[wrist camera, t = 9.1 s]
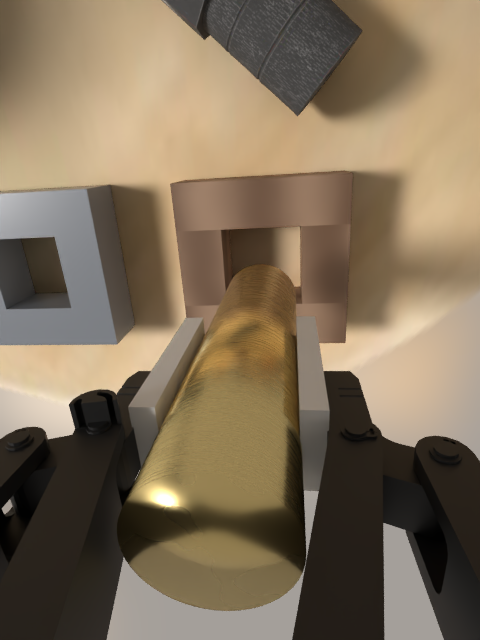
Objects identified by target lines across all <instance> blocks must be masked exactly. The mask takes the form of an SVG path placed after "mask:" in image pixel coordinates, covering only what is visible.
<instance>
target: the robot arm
mask: <svg viewBox="0 0 480 640" xmlns="http://www.w3.org/2000/svg"><path fill="white" fill-rule="evenodd" d="M204 336H205V330H204V320H203V318H185V320H184V322H183V323H182V325H181V326H180V328H179V329H178V331H177V332H176V334H175V335H174V337H173V338H172V340H171V342H170V343H169V345H168V346H167V348H166V349H165V351H164V352H163V354H162V355H161V357H160V358H159V360H158V362H157V363H156V365H155V366H154V368H153V369H152V371H138V372H137V373H135V374H134V375H132V376H131V377H129V378H128V379H127V380H126V382H125V383H124V385H123V386H122V388H121V389H120V390H119V391H118V393H117V395H116V394H115V393H114V392H113V391H110V390H94V391H89V392H87V393H84V394H81V395H80V396H78V397H76V398H75V399H73V400H72V402H71V403H70V404H69V407H70V411H71V414H72V418H73V422H74V426H75V431H74V433H73V435H69V436H64V437H59V438H53V439H47V435H46V432H45V431H44V430H43V429H42V428H38V427H26V428H22V429H18V430H15V431H14V432H12V433H9V434H7V435H6V436H5V437H3V438H2V439H0V640H106V639H107V634H108V629H109V624H110V620H111V615H112V610H113V605H114V600H115V596H116V591H117V586H118V581H119V576H120V572H121V567H122V562H123V557H124V556H123V554H122V552H121V549H120V546H119V543H118V538H117V522H118V517H119V514H120V512H121V509H122V507H123V505H124V503H125V501H126V499H127V497H128V495H129V492H130V490H131V488H132V486H133V484H134V482H135V478H136V476H137V474H138V472H139V470H141V467H142V465H143V463H144V461H145V459H146V457H147V455H148V453H149V451H150V449H151V447H152V445H153V442H154V440H155V438H156V436H157V434H158V432H159V430H160V428H161V426H162V424H163V422H164V420H165V417H166V415H167V413H168V411H169V409H170V407H171V405H172V403H173V401H174V399H175V397H176V395H177V393H178V390H179V388H180V386H181V384H182V382H183V380H184V378H185V376H186V374H187V372H188V370H189V368H190V365H191V363H192V361H193V359H194V357H195V355H196V353H197V351H198V349H199V347H200V345H201V343H202V340H203V338H204ZM296 340H297V369H298V398H299V427H300V442H301V446H302V462H303V486H304V490H308V491H319V494H318V499H317V505H316V510H315V516H314V521H313V527H312V533H311V539H310V544H309V549H308V555H307V560H306V566H305V572H304V577H303V583H302V588H301V594H300V600H299V605H298V611H297V616H296V622H295V627H294V633H293V639H292V640H384V556H383V523H386V524H389V525H392V526H395V527H398V528H401V529H405V530H406V534H407V537H408V540H409V543H410V545H411V548H412V551H413V554H414V557H415V560H416V562H417V565H418V568H419V570H420V574H421V576H422V579H423V582H424V585H425V588H426V590H427V593H428V596H429V599H430V602H431V604H432V607H433V610H434V613H435V616H436V618H437V621H438V624H439V627H440V630H441V632H442V635H443V638H444V640H480V461H479V460H478V458H477V457H476V455H475V454H474V453H473V452H472V451H471V450H470V449H469V448H468V447H467V446H465V445H464V444H462V443H460V442H459V441H456V440H453V439H450V438H447V437H441V436H429V437H425V438H423V439H421V440H419V441H418V443H417V444H416V446H415V448H414V447H410V446H406V445H402V444H398V443H395V442H392V441H390V440H388V439H386V438H384V437H383V436H382V434H381V431H380V430H379V429H378V428H377V427H376V426H375V425H374V424H372V421H371V418H370V414H369V411H368V408H367V405H366V401H365V398H364V395H363V392H362V390H361V385H360V382H359V379H358V378H357V377H356V376H355V375H353V374H352V373H351V372H350V371H323V365H322V359H321V352H320V346H319V339H318V333H317V326H316V320H315V316H296ZM9 499H10V500H11V503H12V506H13V507H12V508H11V509H10V511H9V512H8V513H6V514H4V513H3V511H2V507H3V506H4V505H5V504H6V503H7V502H8V500H9Z"/></svg>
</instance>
